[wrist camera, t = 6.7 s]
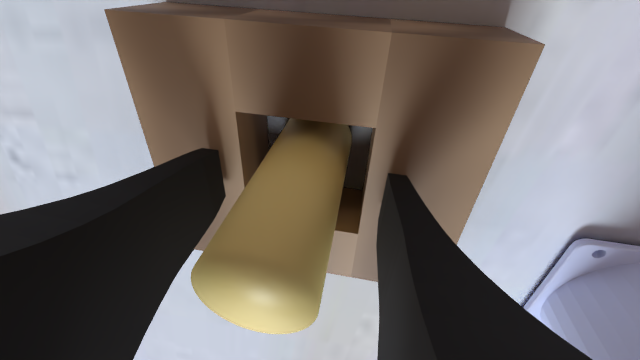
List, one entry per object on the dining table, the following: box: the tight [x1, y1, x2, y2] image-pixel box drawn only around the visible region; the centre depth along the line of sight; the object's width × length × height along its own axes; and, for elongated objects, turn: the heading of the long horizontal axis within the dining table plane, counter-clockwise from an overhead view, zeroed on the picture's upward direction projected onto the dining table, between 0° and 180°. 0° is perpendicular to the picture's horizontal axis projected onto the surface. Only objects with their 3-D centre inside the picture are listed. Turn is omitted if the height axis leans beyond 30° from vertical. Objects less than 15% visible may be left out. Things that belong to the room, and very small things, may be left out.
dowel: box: [191, 118, 352, 334], centre depth 10 cm, size 3×3×8 cm
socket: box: [105, 2, 545, 282], centre depth 12 cm, size 12×10×3 cm
